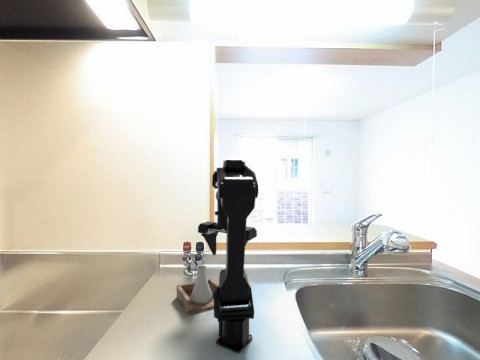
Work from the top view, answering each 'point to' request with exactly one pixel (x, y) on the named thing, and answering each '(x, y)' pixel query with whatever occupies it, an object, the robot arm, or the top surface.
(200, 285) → the flask
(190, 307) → the wooden tray
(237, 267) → the robot arm
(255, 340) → the top surface
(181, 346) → the top surface
